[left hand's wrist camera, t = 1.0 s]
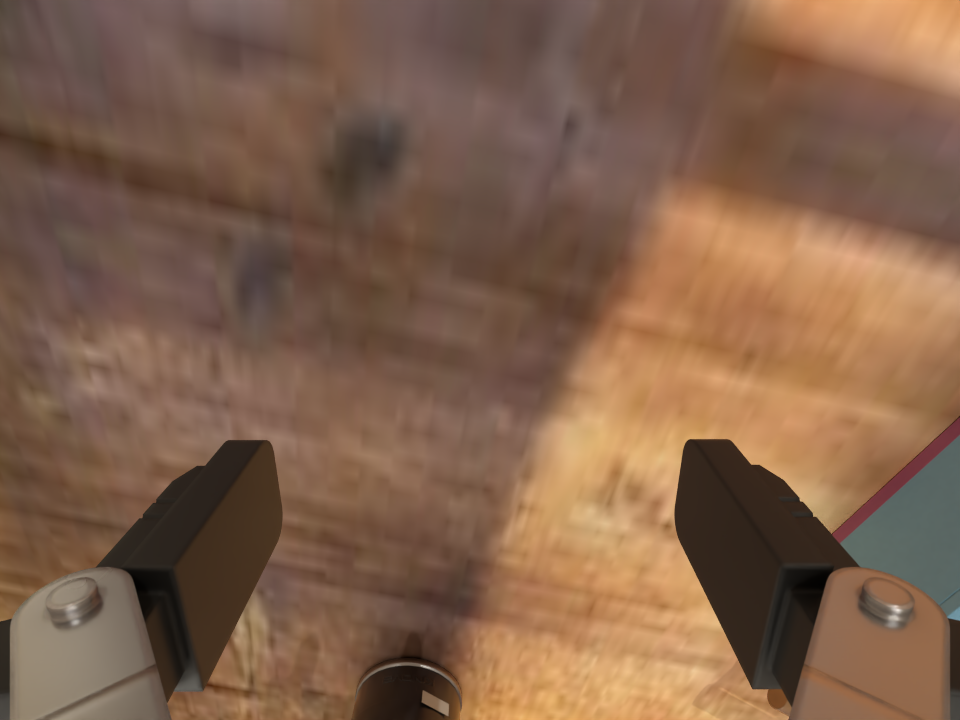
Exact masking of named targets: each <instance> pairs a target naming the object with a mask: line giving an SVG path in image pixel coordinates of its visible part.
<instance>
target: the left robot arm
mask: <svg viewBox="0 0 960 720" xmlns="http://www.w3.org/2000/svg"><path fill="white" fill-rule="evenodd" d="M799 499H800V498H799V497H798V496H797V495H796V494H795V492H794V491H793V490H792V489H791V488H790V487H789V486H788V484H787V483H786V482H785V481H784V480H783V479H781V478H779V477H778V476H776V475H775V474H773V473H771V472H770V471H768V470H767V469H765V468H763V467H762V466H760V465H751V464H750V463H749V462H748V460H747V459H746V458H745V457H744V456H743V454H742V453H741V452H740V451H739V450H738V448H737V447H736V446H735V445H734V443H733V442H732V441H730V440H728V439H690V440H688V441H687V442H686V443H685V446H684V449H683V455H682V462H681V469H680V476H679V482H678V489H677V496H676V503H675V526H676V531H677V535H678V538H679V541H680V543H681V545H682V547H683V549H684V551H685V553H686V555H687V557H688V559H689V561H690V563H691V565H692V567H693V569H694V571H695V573H696V575H697V577H698V579H699V581H700V583H701V586H702V588H703V590H704V592H705V594H706V596H707V598H708V600H709V602H710V604H711V606H712V608H713V610H714V612H715V614H716V616H717V618H718V620H719V622H720V624H721V626H722V628H723V630H724V632H725V634H726V636H727V638H728V640H729V642H730V644H731V646H732V648H733V650H734V652H735V654H736V656H737V658H738V661H739V663H740V665H741V667H742V669H743V671H744V673H745V675H746V677H747V679H748V681H749V683H750V685H751V687H752V689H782V691H783V693H784V694H785V696H786V698H787V700H788V702H789V704H790V705H791V707H792V709H791V712H790V716H789V720H960V621H959V620H954V619H950V618H947V616H946V614H945V612H944V611H943V610H942V608H941V607H940V606H939V605H938V604H937V603H936V602H935V601H934V600H933V599H932V598H931V597H930V596H929V595H927V594H926V593H925V592H923V591H922V590H920V589H919V588H917V587H916V586H914V585H912V584H911V583H909V582H907V581H905V580H903V579H901V578H899V577H896V576H894V575H891V574H889V573H885V572H882V571H879V570H874V569H870V568H863V567H860V566H859V565H858V564H857V563H856V561H855V560H854V559H853V558H852V557H851V556H850V555H849V554H848V552H847V551H846V550H845V549H844V548H843V547H842V546H841V544H840V543H839V542H838V541H837V540H836V539H835V538H834V537H833V535H832V534H831V533H830V532H829V531H828V530H827V529H826V527H825V526H824V525H823V524H822V523H821V522H820V521H819V520H818V518H817V517H813V513H812V512H811V511H810V509H809V508H808V507H807V506H806V505H805V504H804V503H803V502H800V500H799ZM281 527H282V504H281V497H280V490H279V484H278V477H277V470H276V463H275V457H274V451H273V447H272V445H271V443H270V442H269V441H267V440H228V441H226V442H225V443H224V444H223V445H222V446H221V447H220V449H219V450H218V451H217V452H216V453H215V455H214V456H213V457H212V458H211V459H210V461H209V462H208V463H207V464H206V465H205V466H196V467H195V468H193V469H192V470H190V471H188V472H187V473H185V474H184V475H182V476H180V477H179V478H177V479H175V480H174V481H172V482H171V484H170V485H169V486H168V487H167V488H166V489H165V490H164V491H163V493H162V494H161V495H160V496H159V497H158V498H157V499H156V503H153V504H152V505H151V506H150V507H149V508H148V509H147V511H146V512H145V513H144V514H143V518H139V519H138V521H137V522H136V523H135V524H134V525H133V526H132V527H131V528H130V530H129V531H128V532H127V533H126V534H125V535H124V536H123V537H122V539H121V540H120V541H119V542H118V543H117V544H116V545H115V546H114V548H113V549H112V550H111V551H110V552H109V553H108V554H107V555H106V556H105V558H104V559H103V560H102V561H101V562H100V563H99V564H98V565H97V567H96V568H90V569H86V570H81V571H78V572H75V573H71V574H69V575H66V576H64V577H61V578H59V579H57V580H55V581H53V582H51V583H49V584H48V585H46V586H44V587H43V588H41V589H40V590H38V591H37V592H35V593H34V594H33V595H31V596H30V597H29V598H28V599H27V600H26V601H25V602H24V603H23V604H22V605H21V606H20V607H19V608H18V610H17V611H16V612H15V614H14V616H13V618H12V619H9V620H5V621H1V622H0V720H171V716H170V712H169V709H168V705H167V703H168V701H169V699H170V697H171V695H172V693H173V692H174V691H203V690H204V688H205V686H206V684H207V682H208V680H209V678H210V676H211V674H212V672H213V670H214V668H215V666H216V664H217V662H218V660H219V658H220V656H221V654H222V652H223V650H224V648H225V646H226V644H227V642H228V640H229V638H230V636H231V634H232V632H233V630H234V628H235V626H236V624H237V622H238V620H239V618H240V616H241V614H242V612H243V610H244V608H245V606H246V604H247V602H248V600H249V598H250V596H251V594H252V592H253V590H254V588H255V586H256V584H257V582H258V580H259V578H260V576H261V574H262V572H263V570H264V568H265V566H266V564H267V562H268V560H269V558H270V556H271V554H272V552H273V550H274V548H275V546H276V544H277V542H278V539H279V536H280V532H281ZM461 707H462V693H461V689H460V686H459V684H458V682H457V681H456V679H455V678H454V677H453V676H452V675H451V674H450V673H449V672H448V671H447V670H445V669H444V668H442V667H441V666H439V665H437V664H435V663H432V662H429V661H426V660H422V659H415V658H398V659H392V660H388V661H385V662H382V663H380V664H378V665H376V666H374V667H372V668H371V669H370V670H368V671H367V672H366V673H365V674H364V675H363V677H362V678H361V680H360V682H359V684H358V687H357V692H356V696H355V706H354V711H353V715H352V720H460V712H461Z"/></svg>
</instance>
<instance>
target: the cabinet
mask: <svg viewBox="0 0 960 720" xmlns="http://www.w3.org/2000/svg"><path fill="white" fill-rule="evenodd" d="M832 535H833V537H834V538H835V539H836V540H837V541H838V542H839V543H840V544H841V546H842V547H843V548H844V549H845V550H846V551H847V552H848V554H849V555H850V556H851V557H852V558H853V559H854V560H855V561H856V563H857V564H858V565H859V566H860V567H863V568H870V569H874V570H879V571H882V572H885V573H889V574H891V575H894V576H896V577H899V578H901V579H903V580H905V581H907V582H909V583H911V584H912V585H914V586H916V587H917V588H919V589H920V590H922V591H923V592H925V593H926V594H927V595H929V596H930V597H931V598H932V599H933V600H934V601H935V602H936V603H937V604H938V605H939V606H940V607H941V608H942V610H943V611H944V612H945V614H946V616H947V618H950V619H954V620H959V621H960V417H959V418H958V419H957V420H956V421H955V422H954V423H953V424H952V425H951V426H949V427H948V428H947V429H946V430H945V431H944V432H943V433H942V434H941V435H940V436H939V437H937V438H936V439H935V440H934V441H933V442H932V443H931V444H930V445H929V446H928V447H927V448H925V449H924V450H923V451H922V452H921V453H920V454H919V455H918V456H917V457H916V458H915V459H913V460H912V461H911V462H910V463H909V464H908V465H907V466H906V467H905V468H904V469H903V470H901V471H900V472H899V473H898V474H897V475H896V476H895V477H894V478H893V479H892V480H891V481H889V482H888V483H887V484H886V485H885V486H884V487H883V488H882V489H881V490H880V491H879V492H877V493H876V494H875V495H874V496H873V497H872V498H871V499H870V500H869V501H868V502H867V503H865V504H864V505H863V506H862V507H861V508H860V509H859V510H858V511H857V512H856V513H855V514H853V515H852V516H851V517H850V518H849V519H848V520H847V521H846V522H845V523H844V524H843V525H841V526H840V527H839V528H838V529H837V530H836V531H835V532H834V533H833V534H832Z"/></svg>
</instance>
